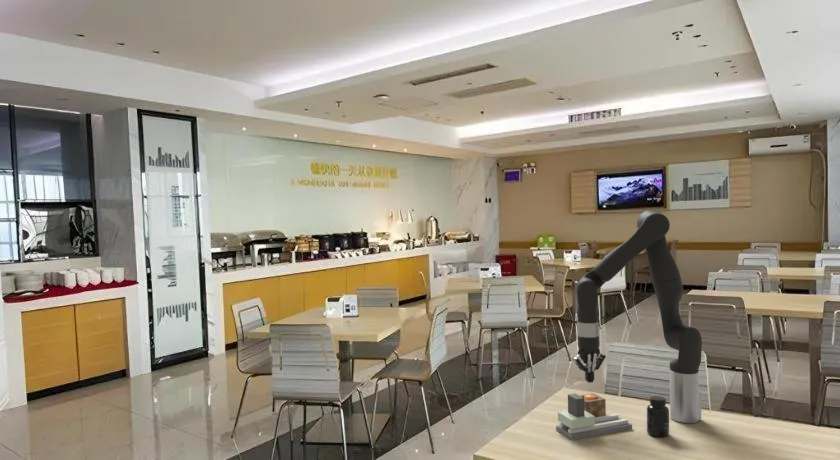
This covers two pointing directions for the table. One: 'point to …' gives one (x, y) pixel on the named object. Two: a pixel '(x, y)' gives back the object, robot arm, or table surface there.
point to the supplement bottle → (657, 417)
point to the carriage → (576, 413)
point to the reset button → (589, 397)
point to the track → (596, 427)
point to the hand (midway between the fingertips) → (589, 381)
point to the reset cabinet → (595, 405)
